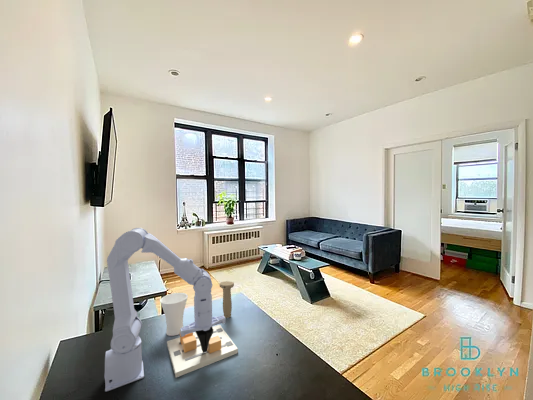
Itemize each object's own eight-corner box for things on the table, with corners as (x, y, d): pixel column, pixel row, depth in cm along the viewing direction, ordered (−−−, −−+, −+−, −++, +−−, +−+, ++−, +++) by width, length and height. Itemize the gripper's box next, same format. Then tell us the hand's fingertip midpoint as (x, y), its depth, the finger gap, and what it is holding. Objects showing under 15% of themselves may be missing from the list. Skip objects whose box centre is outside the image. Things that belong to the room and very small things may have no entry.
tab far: (181, 344, 80) (181, 336, 80) (179, 340, 83) (179, 331, 83) (193, 340, 82) (192, 332, 82) (191, 336, 85) (190, 328, 85)
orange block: (209, 353, 75) (209, 344, 75) (206, 348, 78) (206, 339, 78) (221, 349, 77) (221, 340, 77) (218, 344, 80) (218, 335, 80)
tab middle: (184, 352, 76) (184, 343, 76) (182, 347, 79) (182, 338, 79) (196, 348, 78) (196, 339, 78) (194, 343, 81) (194, 335, 81)
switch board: (175, 377, 67) (175, 372, 67) (167, 345, 83) (167, 341, 83) (237, 352, 78) (237, 348, 78) (220, 328, 93) (219, 324, 93)
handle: (232, 320, 99) (231, 285, 99) (218, 318, 101) (217, 284, 101) (236, 314, 104) (235, 281, 104) (223, 313, 105) (222, 281, 105)
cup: (160, 328, 94) (159, 295, 94) (186, 321, 99) (186, 290, 99) (161, 342, 85) (160, 306, 85) (190, 334, 89) (189, 299, 89)
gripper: (182, 321, 69) (184, 366, 69) (228, 308, 76) (229, 349, 76) (178, 311, 75) (179, 353, 75) (221, 300, 82) (222, 338, 82)
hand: (204, 350), depth 76 cm, fingers closed
